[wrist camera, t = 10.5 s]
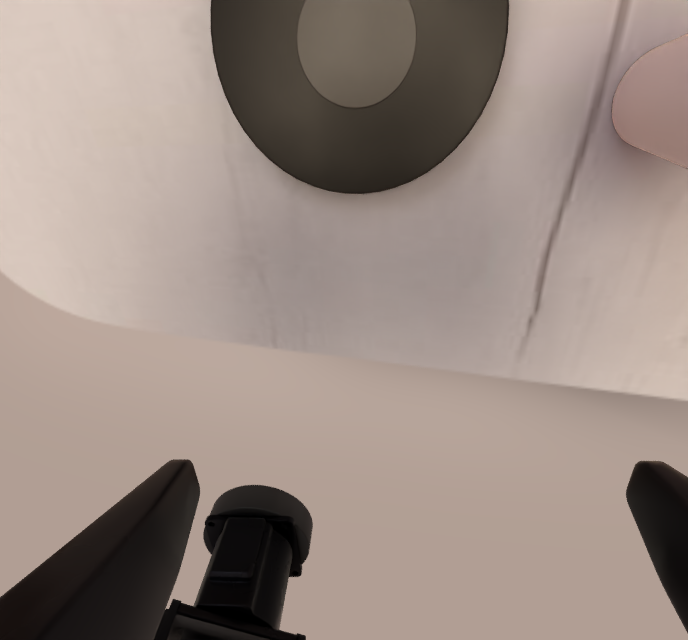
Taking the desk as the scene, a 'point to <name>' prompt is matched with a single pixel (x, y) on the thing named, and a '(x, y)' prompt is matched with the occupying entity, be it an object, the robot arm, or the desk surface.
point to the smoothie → (656, 102)
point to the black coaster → (358, 82)
